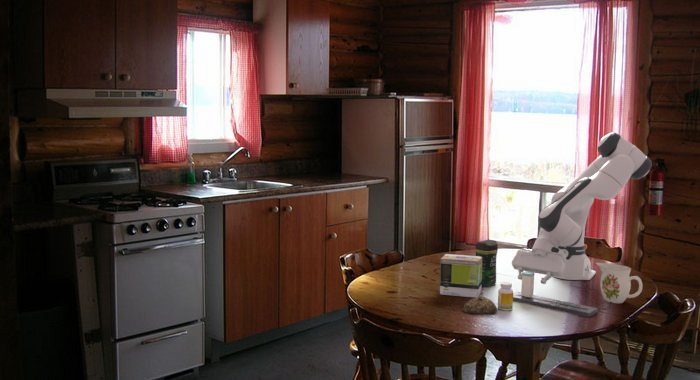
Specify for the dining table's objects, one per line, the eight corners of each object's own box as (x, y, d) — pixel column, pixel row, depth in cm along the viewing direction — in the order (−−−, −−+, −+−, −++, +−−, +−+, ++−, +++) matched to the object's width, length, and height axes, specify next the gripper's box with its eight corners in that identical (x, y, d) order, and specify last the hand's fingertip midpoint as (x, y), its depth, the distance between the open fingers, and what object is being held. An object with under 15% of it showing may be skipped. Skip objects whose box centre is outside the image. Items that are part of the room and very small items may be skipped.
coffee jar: (486, 288, 296) (488, 243, 293) (470, 284, 301) (472, 240, 299) (499, 284, 303) (501, 240, 300) (483, 280, 308) (484, 237, 306)
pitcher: (636, 309, 270) (638, 273, 268) (588, 300, 281) (590, 265, 279) (645, 302, 279) (648, 267, 277) (598, 294, 290) (600, 260, 288)
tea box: (481, 292, 290) (483, 255, 288) (477, 299, 280) (479, 261, 278) (444, 288, 295) (445, 252, 293) (439, 294, 285) (440, 257, 283)
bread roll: (497, 316, 260) (497, 303, 259) (461, 314, 262) (462, 300, 261) (496, 306, 272) (497, 293, 271) (463, 304, 274) (463, 291, 274)
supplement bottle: (494, 308, 269) (495, 282, 268) (505, 306, 271) (506, 280, 270) (504, 311, 264) (505, 285, 263) (515, 309, 267) (516, 284, 266)
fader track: (517, 295, 286) (517, 291, 286) (597, 312, 265) (597, 308, 265) (507, 299, 280) (507, 295, 280) (588, 317, 259) (589, 312, 259)
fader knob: (524, 294, 281) (526, 271, 280) (533, 295, 279) (534, 272, 278) (521, 295, 279) (522, 272, 278) (529, 297, 276) (530, 274, 275)
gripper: (516, 243, 290) (504, 271, 283) (566, 250, 277) (553, 280, 270) (521, 252, 294) (509, 280, 287) (570, 260, 281) (558, 290, 274)
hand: (531, 280), depth 279 cm, fingers open, 8 cm apart
